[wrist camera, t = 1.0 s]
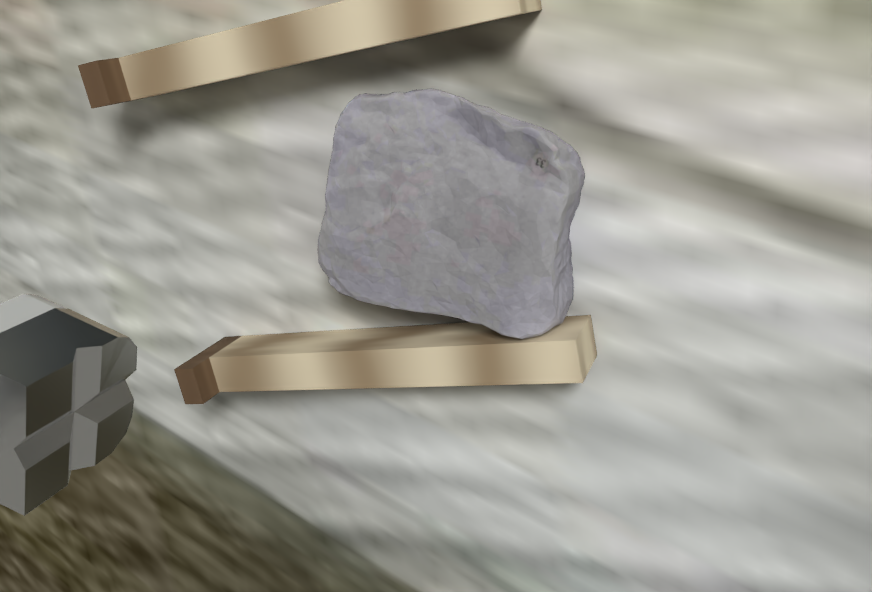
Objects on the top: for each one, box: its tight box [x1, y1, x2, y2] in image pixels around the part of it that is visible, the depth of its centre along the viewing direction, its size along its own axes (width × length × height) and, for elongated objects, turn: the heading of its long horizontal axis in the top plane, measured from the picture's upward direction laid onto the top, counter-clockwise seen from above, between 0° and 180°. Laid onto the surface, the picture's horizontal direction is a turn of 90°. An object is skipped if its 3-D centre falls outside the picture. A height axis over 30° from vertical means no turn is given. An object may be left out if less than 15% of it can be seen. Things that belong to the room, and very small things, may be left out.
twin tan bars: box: [78, 0, 597, 404], centre depth 39 cm, size 21×18×4 cm
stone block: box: [318, 89, 585, 339], centre depth 38 cm, size 12×5×10 cm
